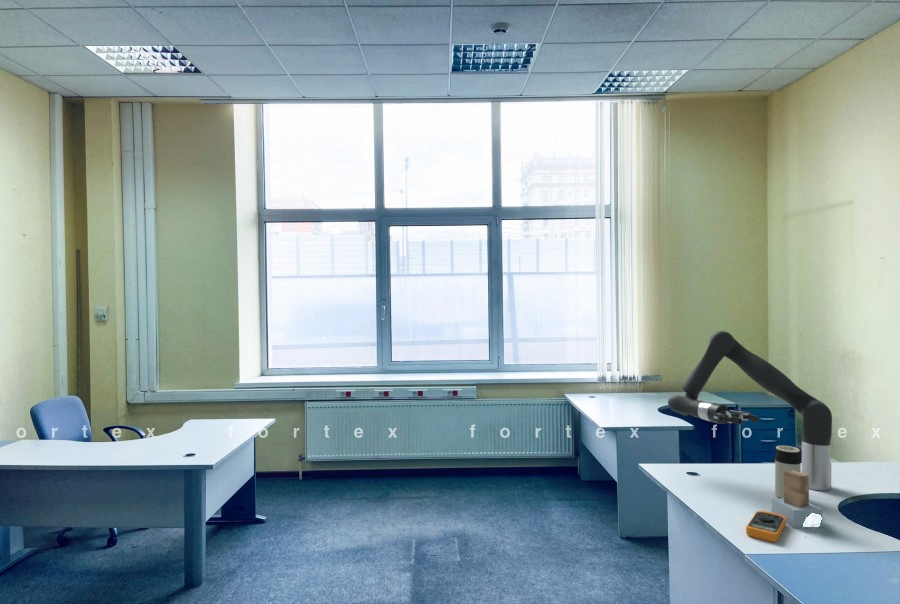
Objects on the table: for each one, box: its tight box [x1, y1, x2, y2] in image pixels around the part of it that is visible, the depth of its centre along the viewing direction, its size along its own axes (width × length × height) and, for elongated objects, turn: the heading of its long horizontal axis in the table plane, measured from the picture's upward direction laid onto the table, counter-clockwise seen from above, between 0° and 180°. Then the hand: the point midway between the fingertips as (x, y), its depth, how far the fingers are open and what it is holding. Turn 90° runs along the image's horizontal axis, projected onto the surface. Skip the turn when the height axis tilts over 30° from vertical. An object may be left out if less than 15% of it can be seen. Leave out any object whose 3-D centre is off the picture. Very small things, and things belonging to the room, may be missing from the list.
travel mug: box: [774, 445, 802, 498], centre depth 200 cm, size 8×8×18 cm
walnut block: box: [784, 470, 810, 508], centre depth 178 cm, size 5×5×10 cm
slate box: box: [771, 497, 824, 529], centre depth 178 cm, size 10×10×6 cm
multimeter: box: [745, 510, 787, 543], centre depth 172 cm, size 9×18×3 cm, turn 140°
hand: (749, 420), depth 200 cm, fingers open, 8 cm apart
